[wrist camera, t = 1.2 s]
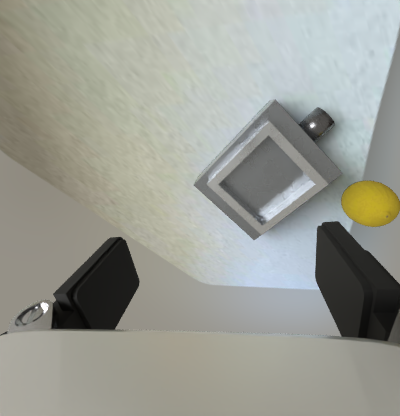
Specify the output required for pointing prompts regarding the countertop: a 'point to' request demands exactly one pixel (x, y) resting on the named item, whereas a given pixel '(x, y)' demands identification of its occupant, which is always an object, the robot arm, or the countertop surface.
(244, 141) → the housing
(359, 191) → the lemon
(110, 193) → the countertop surface
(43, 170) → the countertop surface
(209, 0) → the countertop surface
